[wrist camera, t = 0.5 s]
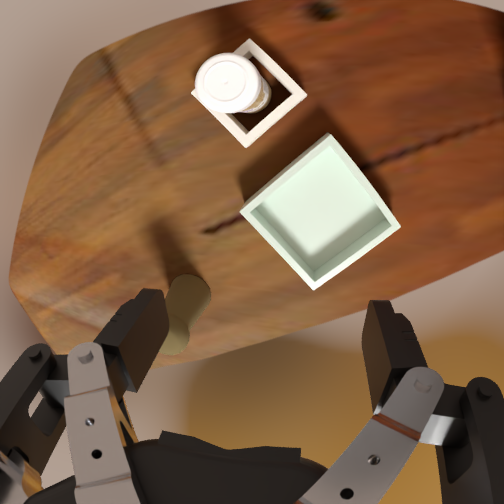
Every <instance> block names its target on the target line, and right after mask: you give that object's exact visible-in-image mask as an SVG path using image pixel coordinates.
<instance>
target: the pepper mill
mask: <svg viewBox="0 0 504 504" xmlns="http://www.w3.org/2000/svg"><path fill="white" fill-rule="evenodd" d="M210 301H211V292H210V288H209V287H208V285H207V284H206V283H205V282H204V281H203V280H202V279H201V278H199V277H197V276H195V275H191V274H182V275H180V276H177V277H176V278H175V279H174V280H173V281H172V284H171V286H170V288H169V291H168V293H167V296H166V298H165V303H166V308H167V313H168V317H169V332H168V335H167V337H166V339H165V341H164V343H163V345H162V346H161V348H160V350H159V352H160V353H162V354H166V355H175V354H178V353H180V352H182V351H183V350H184V349H185V348H186V346H187V344H188V342H189V337H190V330H191V328H192V327H193V325H194V324H195V323H196V321H197V320H198V318H199V317H200V316H201V314H202V313H203V311H204V310H205V309H206V307H207V306H208V305H209V303H210Z"/></svg>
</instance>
